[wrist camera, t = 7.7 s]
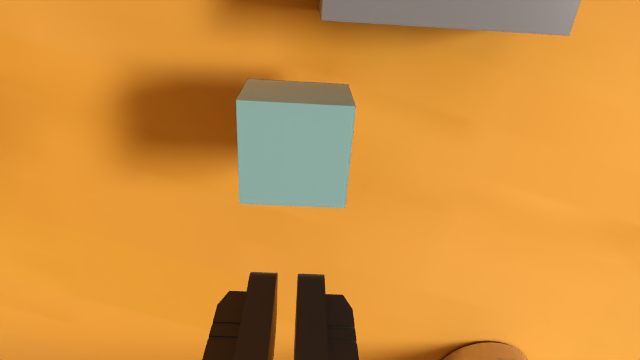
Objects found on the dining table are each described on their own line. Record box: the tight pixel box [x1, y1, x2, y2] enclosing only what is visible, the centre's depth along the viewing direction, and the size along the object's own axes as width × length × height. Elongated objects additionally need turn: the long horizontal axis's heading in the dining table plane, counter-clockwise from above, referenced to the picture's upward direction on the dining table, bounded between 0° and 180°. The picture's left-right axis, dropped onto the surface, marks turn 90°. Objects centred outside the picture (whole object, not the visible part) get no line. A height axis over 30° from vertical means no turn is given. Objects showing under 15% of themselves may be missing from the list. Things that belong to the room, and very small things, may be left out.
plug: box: [236, 79, 356, 208], centre depth 23 cm, size 5×5×8 cm
